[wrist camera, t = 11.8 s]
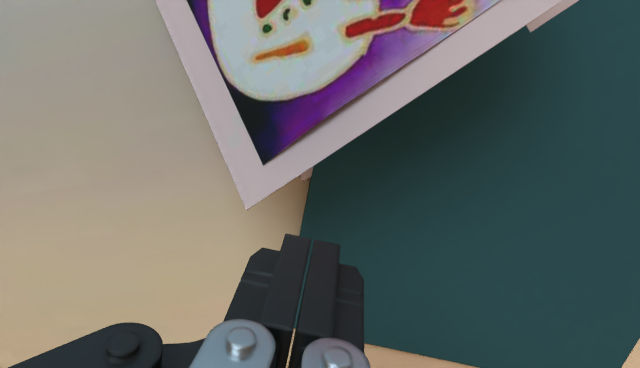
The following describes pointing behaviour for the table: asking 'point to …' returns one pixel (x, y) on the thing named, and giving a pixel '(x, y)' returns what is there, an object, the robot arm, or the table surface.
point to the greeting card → (324, 69)
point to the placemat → (502, 202)
